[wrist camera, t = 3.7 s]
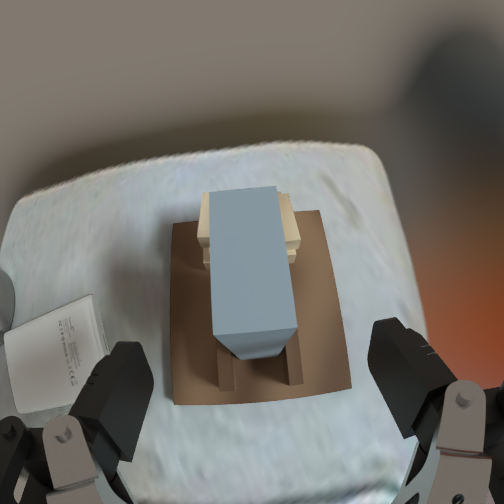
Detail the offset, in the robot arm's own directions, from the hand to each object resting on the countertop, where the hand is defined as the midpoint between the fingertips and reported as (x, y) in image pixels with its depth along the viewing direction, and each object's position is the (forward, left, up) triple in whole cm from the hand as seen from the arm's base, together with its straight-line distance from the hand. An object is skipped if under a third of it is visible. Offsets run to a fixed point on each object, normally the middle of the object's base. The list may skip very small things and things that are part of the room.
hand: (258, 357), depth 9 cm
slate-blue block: (0, +3, -9) cm, 10 cm away
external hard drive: (-18, 0, -11) cm, 21 cm away
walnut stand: (0, +5, -10) cm, 11 cm away
